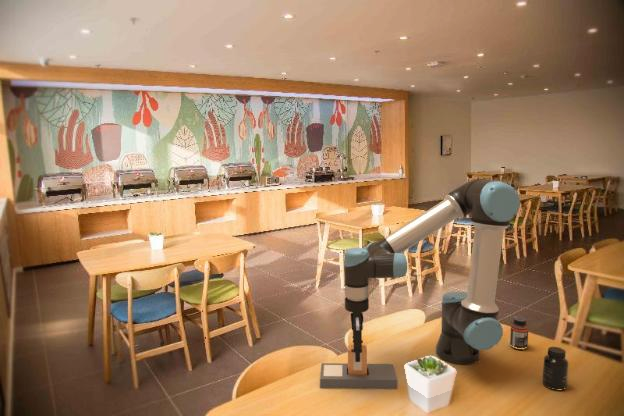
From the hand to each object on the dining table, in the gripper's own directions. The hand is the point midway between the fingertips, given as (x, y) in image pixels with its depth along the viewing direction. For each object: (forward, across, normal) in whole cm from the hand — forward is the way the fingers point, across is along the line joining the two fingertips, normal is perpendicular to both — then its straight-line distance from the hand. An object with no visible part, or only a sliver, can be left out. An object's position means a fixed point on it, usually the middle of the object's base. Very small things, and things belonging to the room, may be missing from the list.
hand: (357, 366), depth 144 cm
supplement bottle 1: (+6, -26, +61) cm, 67 cm away
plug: (+5, 0, 0) cm, 5 cm away
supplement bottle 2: (+6, 0, +62) cm, 62 cm away
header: (+6, 0, 0) cm, 6 cm away
